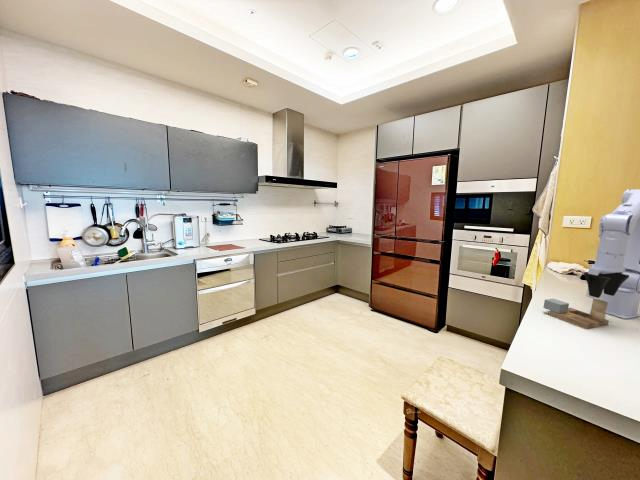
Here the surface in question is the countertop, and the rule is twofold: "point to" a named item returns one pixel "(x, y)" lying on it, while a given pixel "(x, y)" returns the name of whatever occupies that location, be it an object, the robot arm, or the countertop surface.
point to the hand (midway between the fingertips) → (601, 295)
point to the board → (578, 318)
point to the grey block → (556, 305)
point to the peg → (598, 310)
